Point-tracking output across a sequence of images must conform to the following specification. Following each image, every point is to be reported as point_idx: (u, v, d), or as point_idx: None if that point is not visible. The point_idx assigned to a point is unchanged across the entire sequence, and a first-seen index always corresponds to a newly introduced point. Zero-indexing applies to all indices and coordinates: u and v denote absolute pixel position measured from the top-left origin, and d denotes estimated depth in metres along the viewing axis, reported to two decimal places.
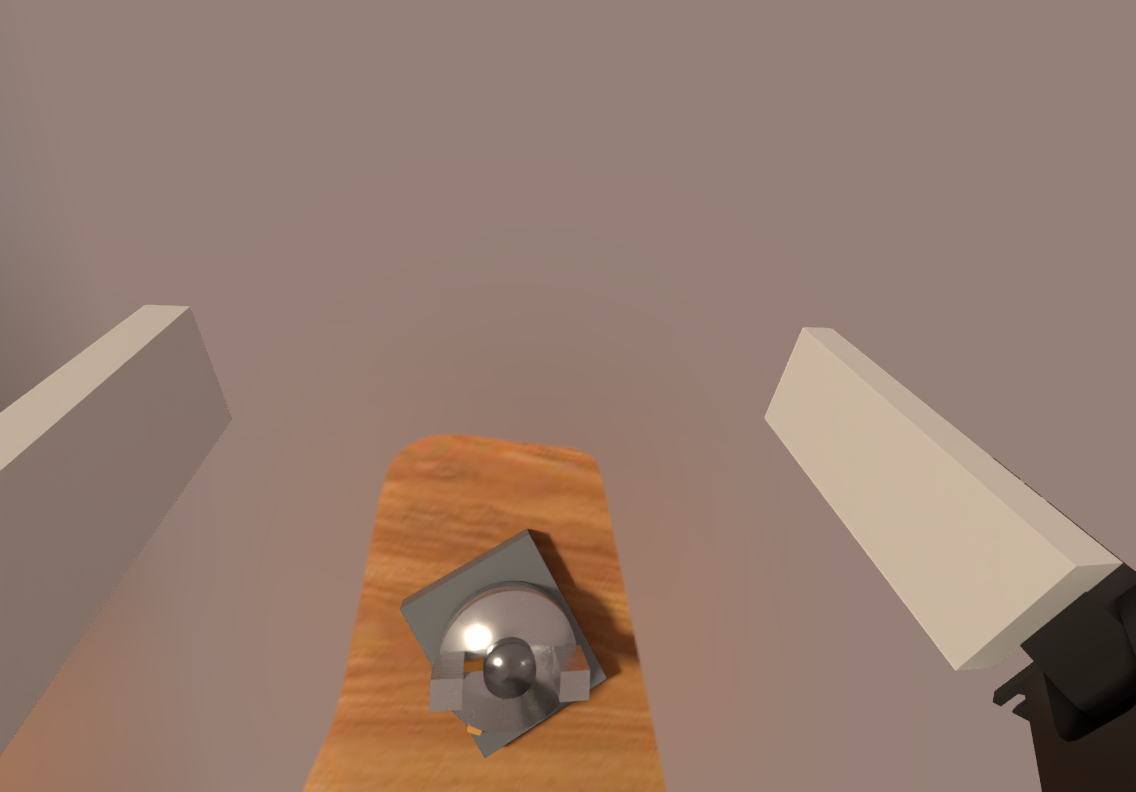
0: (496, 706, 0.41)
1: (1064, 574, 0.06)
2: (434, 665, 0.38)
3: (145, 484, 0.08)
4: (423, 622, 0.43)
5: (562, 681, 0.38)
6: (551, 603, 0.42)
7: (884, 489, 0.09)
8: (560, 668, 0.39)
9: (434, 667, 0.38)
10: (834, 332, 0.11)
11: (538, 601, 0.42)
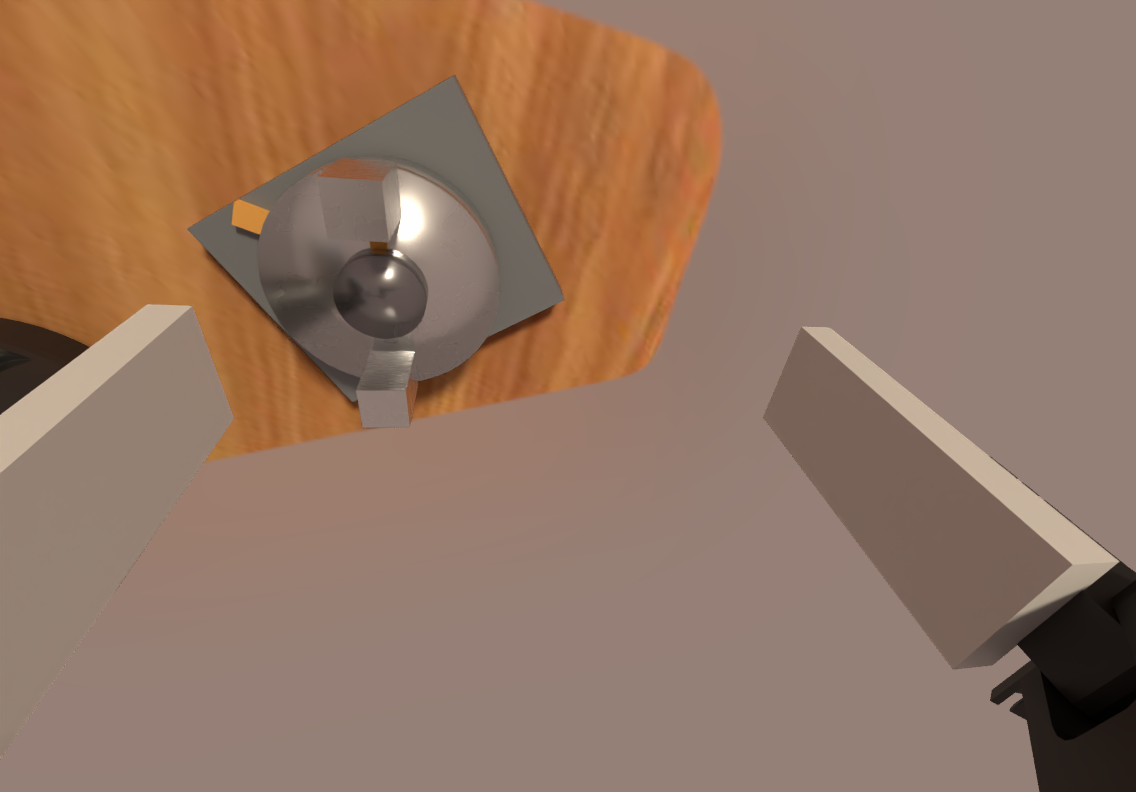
0: (305, 268, 0.24)
1: (1060, 573, 0.06)
2: (390, 173, 0.21)
3: (148, 483, 0.08)
4: (428, 123, 0.24)
5: (390, 393, 0.25)
6: None
7: (882, 488, 0.09)
8: (406, 386, 0.25)
9: (389, 175, 0.20)
10: (833, 331, 0.11)
11: (484, 330, 0.28)
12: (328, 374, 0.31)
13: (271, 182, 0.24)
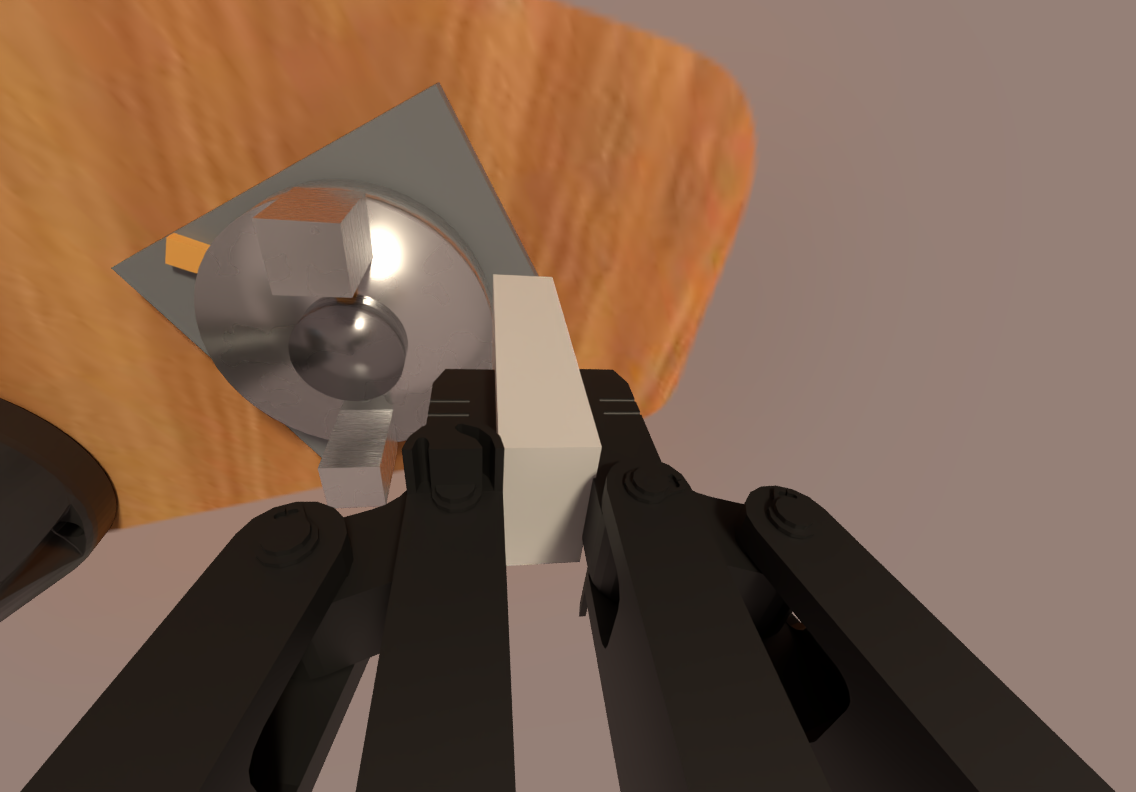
0: (256, 318, 0.20)
1: (553, 458, 0.07)
2: (354, 209, 0.16)
3: None
4: (406, 142, 0.20)
5: (360, 470, 0.20)
6: None
7: None
8: (381, 459, 0.21)
9: (352, 212, 0.16)
10: (552, 279, 0.12)
11: None
12: (293, 429, 0.27)
13: (213, 212, 0.20)
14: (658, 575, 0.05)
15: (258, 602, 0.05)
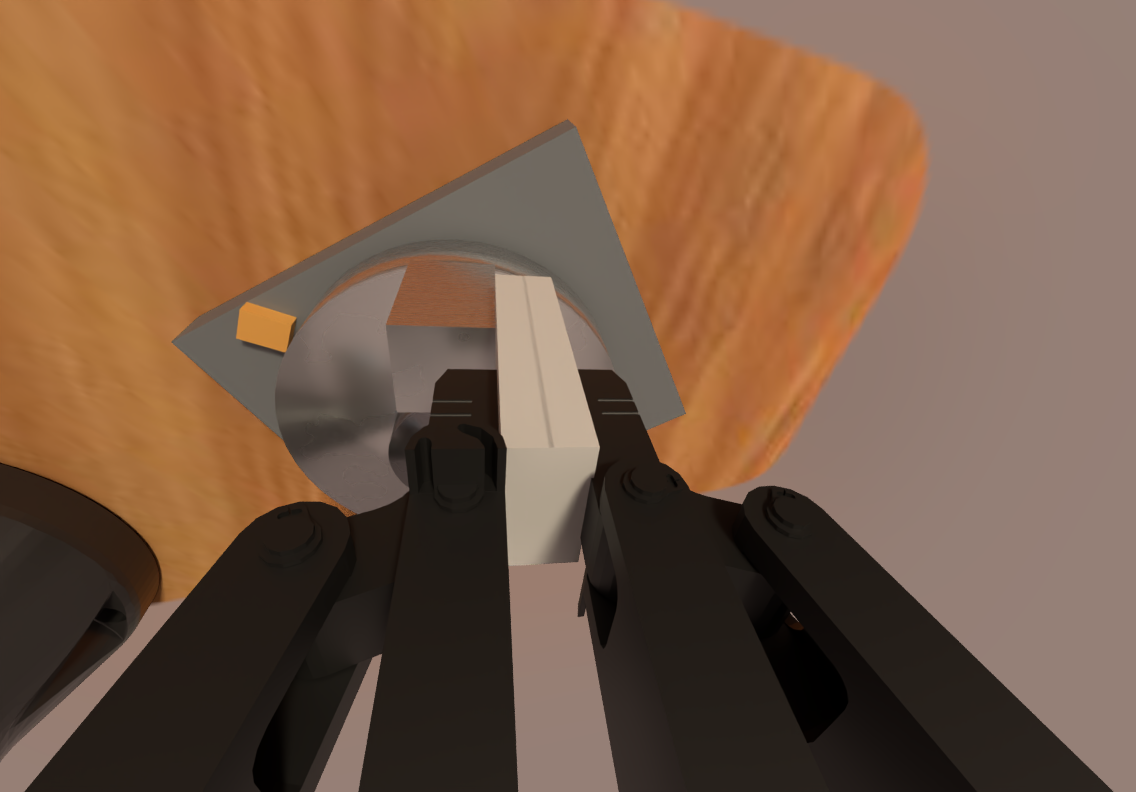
0: (346, 408, 0.16)
1: (551, 458, 0.07)
2: None
3: None
4: (531, 194, 0.16)
5: None
6: None
7: None
8: None
9: None
10: (550, 280, 0.12)
11: None
12: None
13: (295, 278, 0.17)
14: (656, 575, 0.05)
15: (261, 601, 0.05)
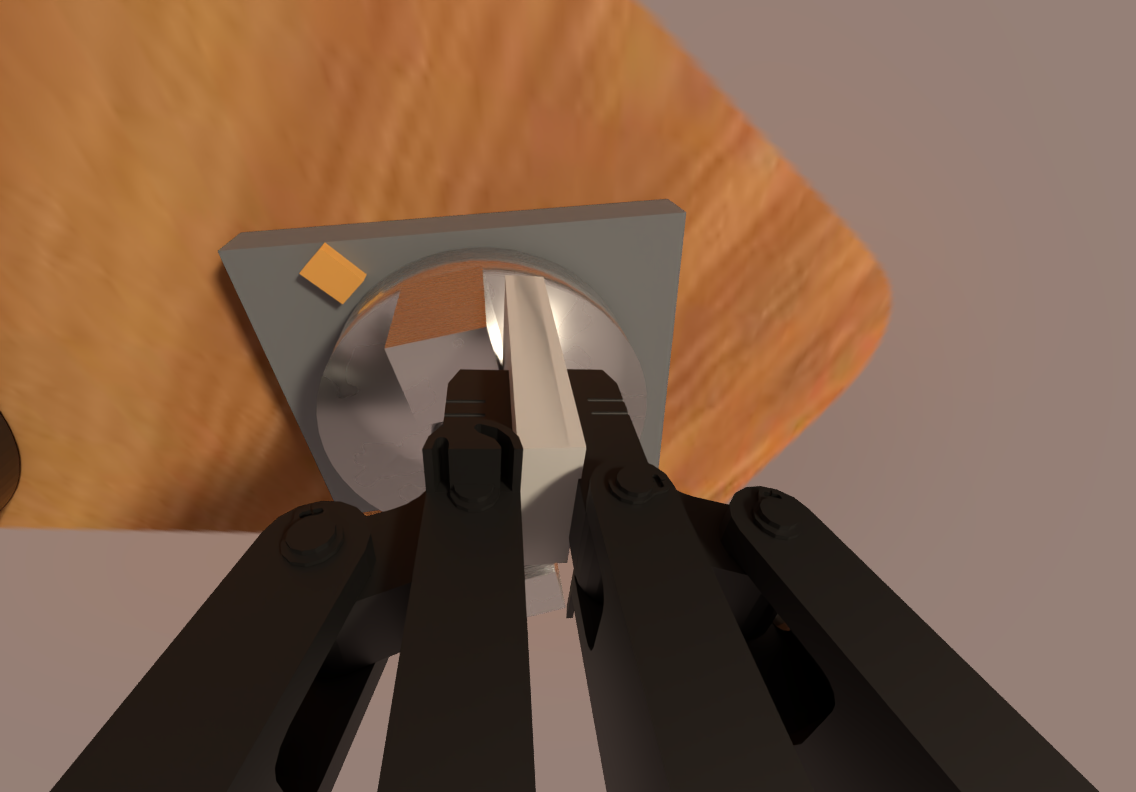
0: (384, 432, 0.17)
1: (538, 458, 0.07)
2: (485, 296, 0.13)
3: None
4: (627, 249, 0.18)
5: (535, 580, 0.17)
6: None
7: None
8: None
9: (485, 301, 0.13)
10: (542, 279, 0.12)
11: None
12: (326, 478, 0.22)
13: (386, 239, 0.16)
14: (642, 577, 0.05)
15: (284, 600, 0.05)
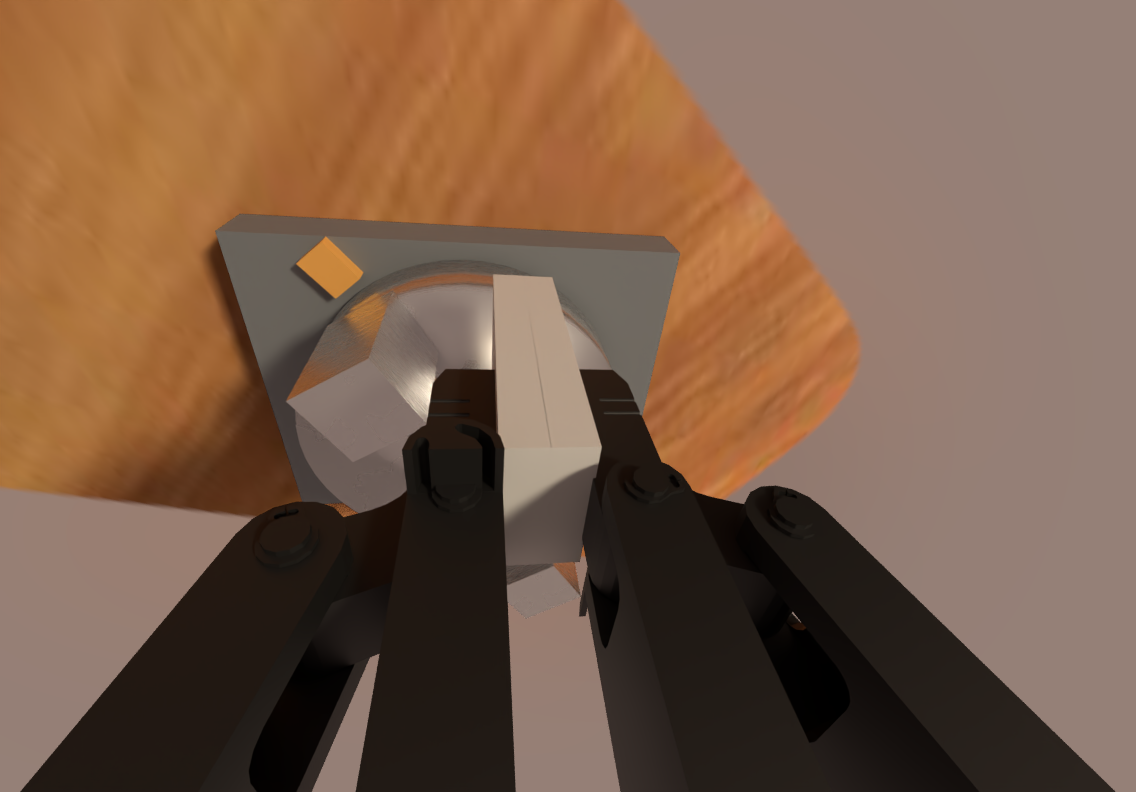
0: (371, 462, 0.18)
1: (553, 458, 0.07)
2: (384, 323, 0.13)
3: None
4: (621, 280, 0.19)
5: (536, 576, 0.17)
6: None
7: None
8: None
9: (383, 328, 0.13)
10: (551, 280, 0.12)
11: None
12: (294, 466, 0.22)
13: (388, 241, 0.17)
14: (658, 575, 0.05)
15: (258, 602, 0.05)
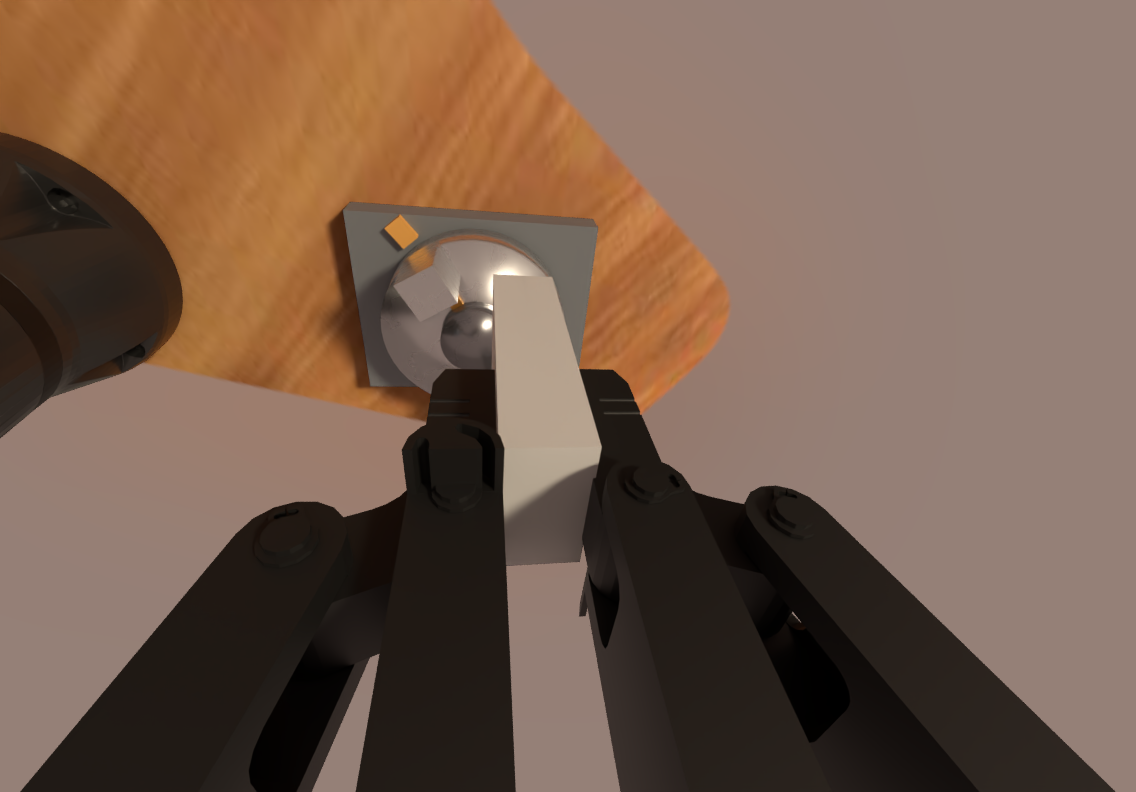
0: (420, 345, 0.32)
1: (553, 458, 0.07)
2: (436, 254, 0.27)
3: None
4: (564, 243, 0.32)
5: None
6: None
7: None
8: None
9: (436, 256, 0.26)
10: (551, 280, 0.12)
11: None
12: (367, 358, 0.35)
13: (433, 217, 0.30)
14: (658, 575, 0.05)
15: (258, 602, 0.05)
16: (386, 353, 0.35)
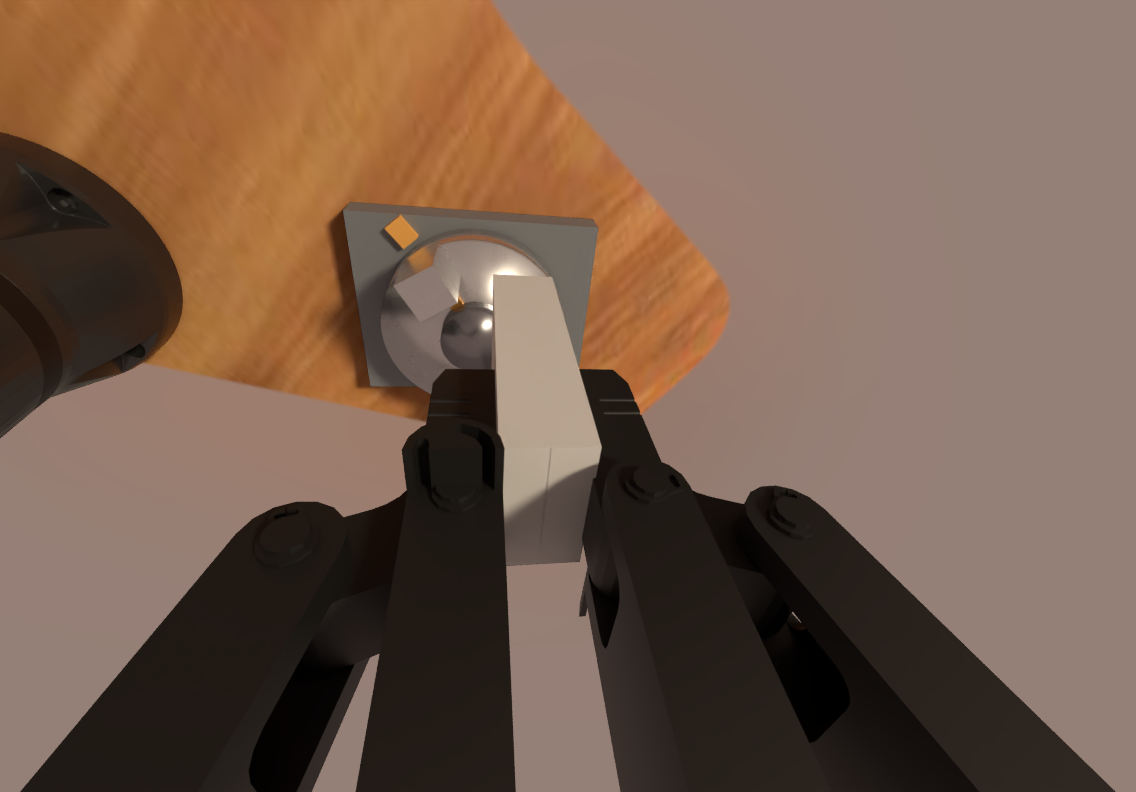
0: (420, 345, 0.32)
1: (553, 458, 0.07)
2: (436, 254, 0.27)
3: None
4: (564, 243, 0.32)
5: None
6: None
7: None
8: None
9: (436, 256, 0.26)
10: (551, 280, 0.12)
11: None
12: (367, 358, 0.35)
13: (433, 217, 0.30)
14: (658, 575, 0.05)
15: (258, 602, 0.05)
16: (386, 353, 0.35)
